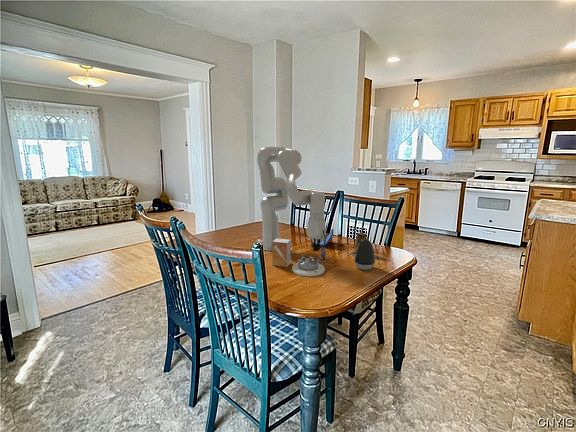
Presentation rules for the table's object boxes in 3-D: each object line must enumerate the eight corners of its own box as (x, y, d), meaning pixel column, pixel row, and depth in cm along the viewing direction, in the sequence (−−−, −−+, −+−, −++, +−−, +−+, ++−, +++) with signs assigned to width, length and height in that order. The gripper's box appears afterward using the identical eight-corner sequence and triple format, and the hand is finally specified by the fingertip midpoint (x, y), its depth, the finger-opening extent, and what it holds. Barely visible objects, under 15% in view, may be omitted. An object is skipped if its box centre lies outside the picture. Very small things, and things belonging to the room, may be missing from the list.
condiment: (369, 254, 181) (370, 234, 179) (358, 257, 177) (360, 236, 174) (360, 251, 187) (361, 231, 185) (349, 253, 183) (350, 233, 180)
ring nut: (307, 272, 149) (307, 256, 148) (294, 266, 157) (294, 251, 155) (331, 265, 159) (332, 250, 157) (318, 259, 167) (318, 245, 165)
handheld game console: (312, 240, 209) (312, 227, 207) (332, 241, 207) (333, 228, 206) (310, 247, 194) (311, 233, 192) (332, 248, 192) (333, 234, 190)
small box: (272, 265, 162) (272, 241, 160) (276, 261, 168) (276, 238, 166) (287, 267, 160) (287, 242, 157) (290, 263, 166) (291, 239, 163)
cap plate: (287, 273, 152) (287, 270, 152) (298, 262, 167) (298, 260, 166) (319, 278, 146) (319, 275, 146) (328, 267, 161) (328, 264, 160)
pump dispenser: (361, 263, 167) (363, 235, 164) (378, 268, 159) (380, 239, 156) (349, 267, 161) (350, 238, 157) (366, 273, 153) (368, 243, 150)
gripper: (302, 214, 165) (301, 248, 169) (321, 219, 154) (320, 255, 157) (312, 213, 170) (312, 246, 173) (332, 217, 158) (331, 252, 161)
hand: (316, 250), depth 165 cm, fingers closed
